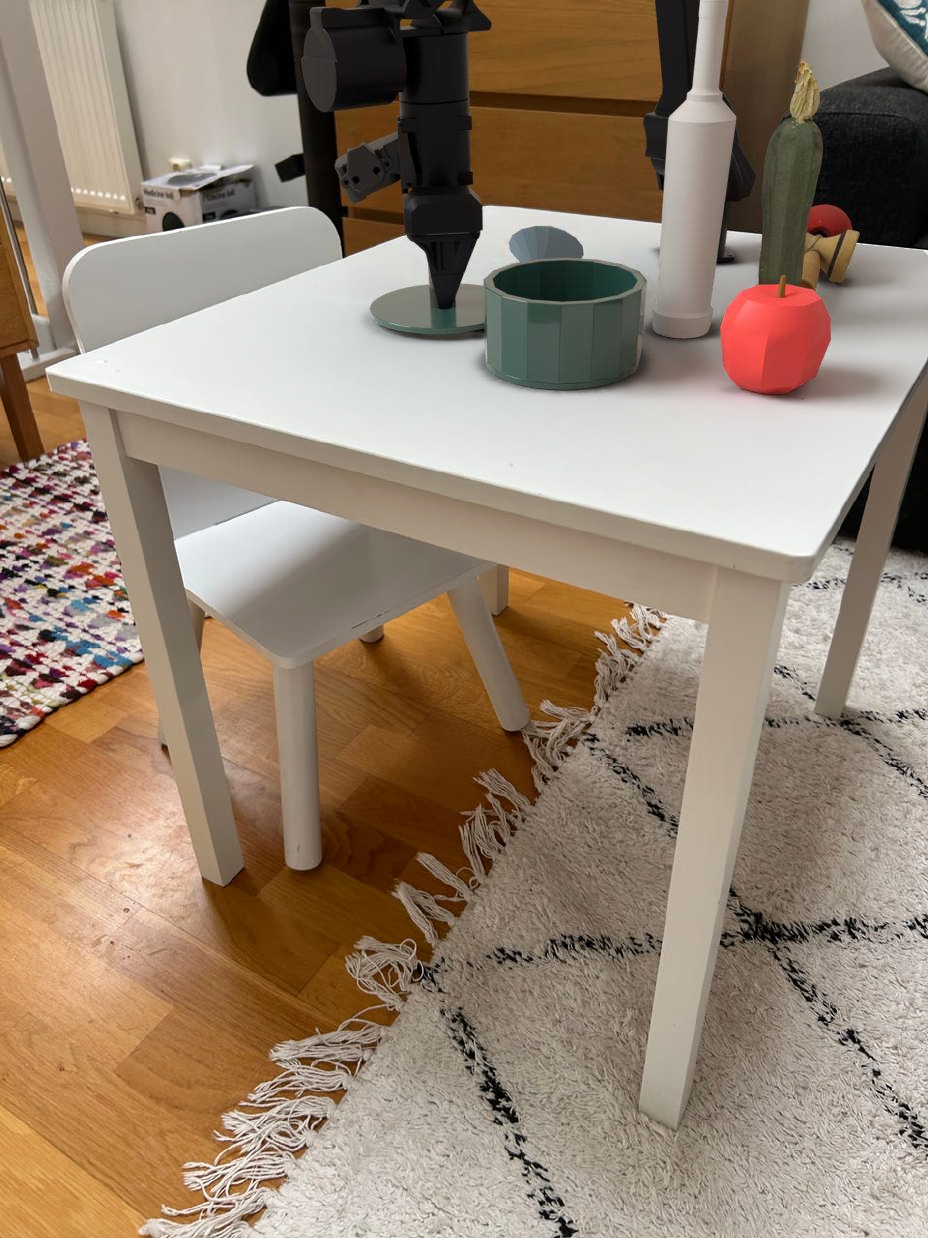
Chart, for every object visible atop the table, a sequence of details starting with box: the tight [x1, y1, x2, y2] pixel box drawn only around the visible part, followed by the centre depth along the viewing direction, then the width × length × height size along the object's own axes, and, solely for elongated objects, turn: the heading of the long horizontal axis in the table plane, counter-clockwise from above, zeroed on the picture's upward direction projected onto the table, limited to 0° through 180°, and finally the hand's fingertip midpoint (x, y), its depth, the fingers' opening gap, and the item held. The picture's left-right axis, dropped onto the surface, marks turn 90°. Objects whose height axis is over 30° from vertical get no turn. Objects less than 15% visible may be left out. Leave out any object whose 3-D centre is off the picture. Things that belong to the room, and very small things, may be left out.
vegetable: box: [757, 59, 824, 287], centre depth 78 cm, size 4×4×20 cm
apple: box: [719, 275, 832, 395], centre depth 71 cm, size 8×8×8 cm
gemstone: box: [508, 225, 585, 263], centre depth 96 cm, size 8×8×5 cm
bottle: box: [651, 0, 737, 339], centre depth 76 cm, size 5×5×25 cm
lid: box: [369, 265, 484, 335], centre depth 87 cm, size 13×13×6 cm
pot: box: [483, 258, 648, 391], centre depth 76 cm, size 12×12×6 cm
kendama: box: [800, 204, 860, 293], centre depth 92 cm, size 8×6×18 cm
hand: (442, 293), depth 87 cm, fingers open, 9 cm apart
